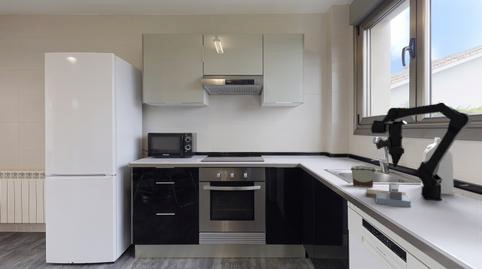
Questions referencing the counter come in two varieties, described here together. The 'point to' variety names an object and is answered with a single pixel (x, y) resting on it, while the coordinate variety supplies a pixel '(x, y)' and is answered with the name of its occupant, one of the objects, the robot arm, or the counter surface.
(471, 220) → the counter surface
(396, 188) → the lock bar
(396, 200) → the grey stepped block
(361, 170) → the food container
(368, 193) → the jamb board
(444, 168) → the milk
